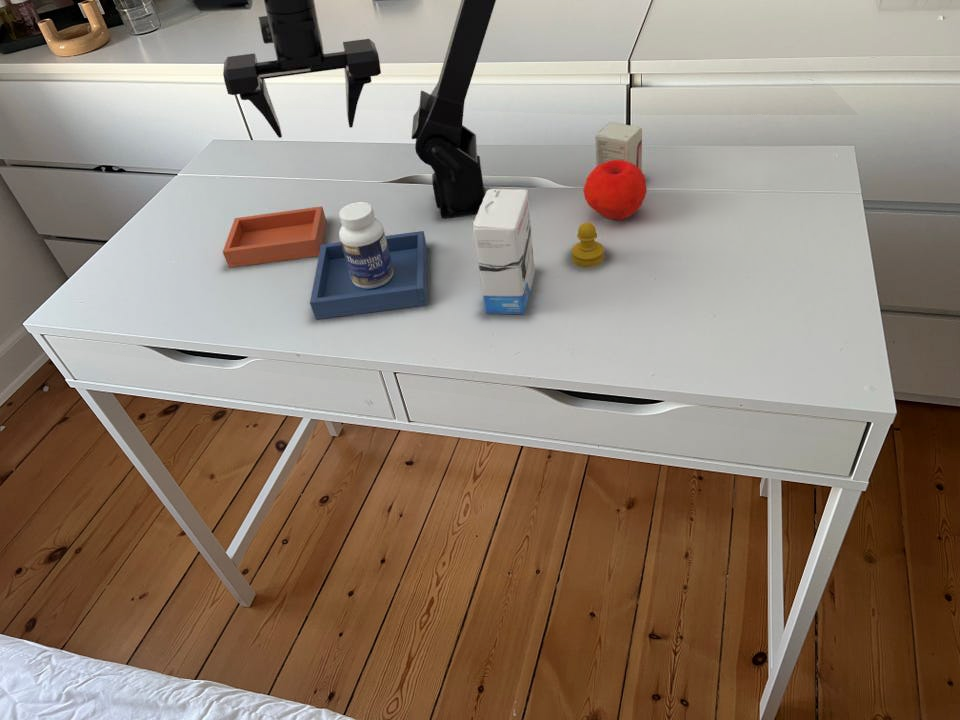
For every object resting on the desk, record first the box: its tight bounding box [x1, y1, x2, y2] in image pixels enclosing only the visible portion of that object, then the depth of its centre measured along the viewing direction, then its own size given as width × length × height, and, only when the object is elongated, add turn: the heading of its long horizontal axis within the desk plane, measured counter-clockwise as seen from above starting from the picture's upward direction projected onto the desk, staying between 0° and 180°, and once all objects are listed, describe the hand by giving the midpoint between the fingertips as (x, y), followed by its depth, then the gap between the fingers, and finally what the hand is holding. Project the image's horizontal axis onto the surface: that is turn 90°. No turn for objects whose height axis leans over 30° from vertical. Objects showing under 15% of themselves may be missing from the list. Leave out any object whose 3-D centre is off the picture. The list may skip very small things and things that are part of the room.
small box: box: [594, 121, 643, 172], centre depth 105 cm, size 5×4×8 cm
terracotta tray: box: [222, 205, 328, 269], centre depth 106 cm, size 13×9×3 cm
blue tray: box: [309, 230, 428, 320], centre depth 97 cm, size 14×13×3 cm
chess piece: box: [571, 221, 605, 268], centre depth 94 cm, size 4×4×5 cm
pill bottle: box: [338, 201, 393, 289], centre depth 94 cm, size 5×5×10 cm
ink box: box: [472, 188, 536, 315], centre depth 88 cm, size 8×5×12 cm, turn 168°
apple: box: [582, 160, 648, 221], centre depth 99 cm, size 8×8×7 cm
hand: (315, 131), depth 101 cm, fingers open, 9 cm apart
